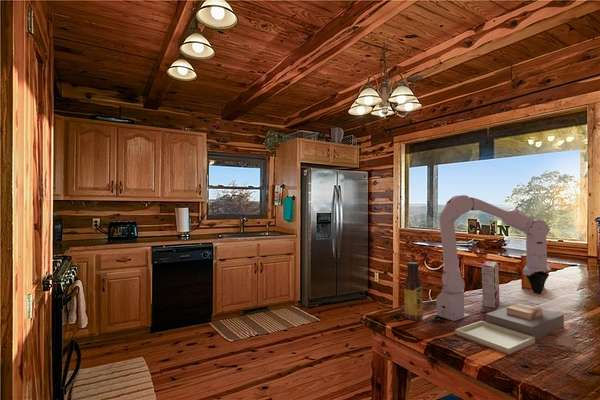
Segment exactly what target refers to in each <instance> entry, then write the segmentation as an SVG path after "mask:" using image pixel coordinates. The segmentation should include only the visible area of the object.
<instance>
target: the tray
mask: <svg viewBox="0 0 600 400" xmlns="http://www.w3.org/2000/svg"><path fill="white" fill-rule="evenodd" d="M454 335H456V336H458V337H460V338H464V339H466V340H469V341H471V342H475V343H476V344H480V345H482V346H485V347H488V348H491V349H493V350H496V351H498V352H500V353H504V354H506V355H511V354H513V353H516V352H518V351H520V350H522V349H524V348H527V347H529V346H531V345H533V344H536V340H535V337H533V336H529V335H526V334H523V333H520V332H516V331H513V330H510V329H507V328H503V327H500V326H497V325H494V324H491V323H487V322H486V321H484V320H479V321H476V322H473V323H469V324H467V325H465V326H461V327H457V328H455V329H454Z"/></svg>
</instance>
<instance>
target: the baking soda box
mask: <svg viewBox="0 0 600 400" xmlns="http://www.w3.org/2000/svg"><path fill="white" fill-rule="evenodd" d="M526 266H527V258H526V253H523V254H521V255H520V273H521V274H520V276H521V278H520V279H521V282H520V283H521V290H528V291H529V290H530V291H532V287H531V284H530V282H529V280H528V278H527V277H526V275H523V269H524V268H525V267H526ZM543 272H544V273H545V271H543ZM544 288H545V286H544V287H543V289H544Z"/></svg>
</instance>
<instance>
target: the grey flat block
mask: <svg viewBox="0 0 600 400" xmlns="http://www.w3.org/2000/svg"><path fill="white" fill-rule="evenodd" d="M515 304H516V303H515ZM515 304H512V305H515ZM512 305H508V306H506V307H509V306H512ZM506 307H502V308H499V309H497V310H494V311H490V312H487V313H485V322H487V323H491V324H494V325H497V326H500V327H503V328H507V329H510V330H513V331H516V332H520V333H523V334H526V335H529V336H533V337H535V341H536V340H537V339H540V338H542V337H545V336H547V335H548V334H551V333H553V332H555V331H558V330H560V329H563V328H564V327H565V318H564V314H563V313H558V312H555V311H550V310H546V309H543V308H541V309H542V315H541V316H538V317H536V318H533V319H530V320H529V319H525V318H522V317H518V316H514V315H511V314H507V310H506Z"/></svg>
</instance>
